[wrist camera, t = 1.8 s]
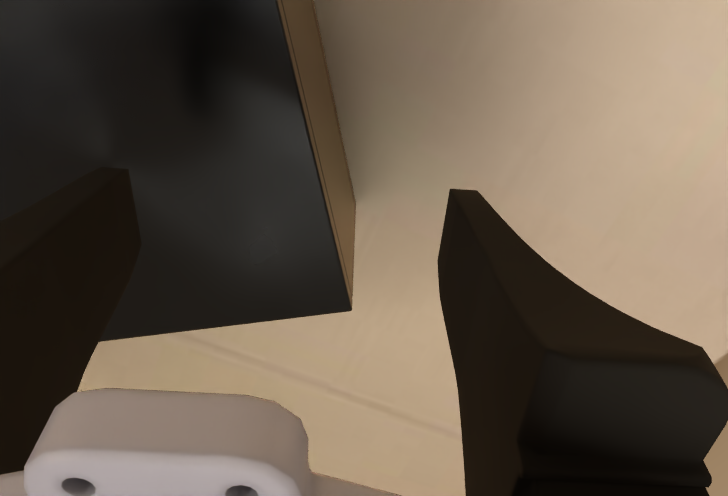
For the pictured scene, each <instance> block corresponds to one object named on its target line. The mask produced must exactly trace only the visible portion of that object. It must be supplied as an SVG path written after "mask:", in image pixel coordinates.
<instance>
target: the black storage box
mask: <svg viewBox="0 0 728 496" xmlns="http://www.w3.org/2000/svg"><path fill="white" fill-rule="evenodd" d="M100 167H106V168H122V169H128V170H129V175H130V181H131V186H132V192H133V198H134V203H135V209H136V215H137V220H138V226H139V231H140V237H141V243H142V244H141V248H140V251H139V254H138V258H137V261H136V264H135V267H134V270H133V273H132V276H131V279H130V281H129V283H128V285H127V287H126V289H125V291H124V293H123V295H122V297H121V299H120V301H119V303H118V305H117V307H116V309H115V311H114V313H113V315H112V317H111V319H110V321H109V323H108V325H107V327H106V328H105V330H104V332H103V334H102V336H101V338H100V340H99V342H100V341H109V340H117V339H125V338H133V337H141V336H150V335H158V334H166V333H174V332H182V331H191V330H199V329H207V328H215V327H223V326H232V325H240V324H248V323H256V322H265V321H273V320H281V319H289V318H297V317H306V316H314V315H322V314H330V313H338V312H347V311H351V310H352V296H353V269H354V242H355V215H356V211H355V210H356V202H355V197H354V192H353V187H352V182H351V178H350V173H349V168H348V163H347V159H346V154H345V149H344V144H343V139H342V135H341V130H340V125H339V120H338V115H337V111H336V106H335V101H334V96H333V92H332V87H331V82H330V77H329V72H328V68H327V63H326V58H325V53H324V49H323V44H322V39H321V34H320V29H319V25H318V20H317V15H316V10H315V5H314V1H313V0H0V221H2V220H4V219H6V218H8V217H10V216H12V215H13V214H15V213H17V212H19V211H21V210H23V209H25V208H27V207H29V206H31V205H33V204H34V203H36V202H38V201H40V200H41V199H43V198H45V197H47V196H49V195H50V194H52V193H54V192H56V191H57V190H59V189H61V188H63V187H64V186H66V185H68V184H69V183H71V182H73V181H75V180H76V179H78V178H80V177H82V176H84V175H86V174H87V173H89V172H91V171H93V170H96V169H98V168H100Z"/></svg>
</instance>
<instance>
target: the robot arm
mask: <svg viewBox="0 0 728 496" xmlns="http://www.w3.org/2000/svg"><path fill="white" fill-rule="evenodd" d="M141 244H142V243H141V237H140V231H139V226H138V220H137V215H136V209H135V203H134V198H133V192H132V186H131V181H130V175H129V170H128V169H122V168H106V167H100V168H98V169H96V170H93V171H91V172H89V173H87V174H86V175H84V176H82V177H80V178H78V179H76V180H75V181H73V182H71V183H69V184H68V185H66V186H64V187H63V188H61V189H59V190H57V191H56V192H54V193H52V194H50V195H49V196H47V197H45V198H43V199H41V200H40V201H38V202H36V203H34V204H33V205H31V206H29V207H27V208H25V209H23V210H21V211H19V212H17V213H15V214H13V215H12V216H10V217H8V218H6V219H4V220H2V221H0V496H401V495H397V494H394V493H390V492H386V491H382V490H379V489H375V488H371V487H367V486H364V485H360V484H356V483H352V482H349V481H345V480H341V479H337V478H334V477H330V476H326V475H322V474H318V473H315V472H312V471H311V470H310V468H309V463H308V437H307V434H306V432H305V429H304V427H303V424H302V422H301V419H300V418H298V417H297V416H295V415H294V414H292V413H291V412H290V411H288V410H287V409H285V408H284V407H282V406H281V405H280V404H278V403H277V402H275V401H271V400H266V399H262V398H257V397H253V396H249V395H236V394H216V393H196V392H177V391H157V390H137V389H118V388H104V389H96V390H89V391H81V392H77V390H78V387H79V385H80V382H81V379H82V376H83V374H84V371H85V369H86V367H87V365H88V362H89V360H90V358H91V356H92V354H93V352H94V350H95V348H96V346H97V344H98V342H99V340H100V338H101V336H102V334H103V332H104V330H105V328H106V327H107V325H108V323H109V321H110V319H111V317H112V315H113V313H114V311H115V309H116V307H117V305H118V303H119V301H120V299H121V297H122V295H123V293H124V291H125V289H126V287H127V285H128V283H129V281H130V279H131V276H132V273H133V270H134V267H135V264H136V261H137V258H138V254H139V251H140V248H141ZM438 277H439V292H440V300H441V306H442V311H443V316H444V321H445V326H446V330H447V335H448V340H449V345H450V350H451V355H452V359H453V364H454V369H455V374H456V380H457V387H458V395H459V406H460V418H461V429H462V443H463V457H464V471H465V489H466V496H709V494H708V492H707V490H706V488H705V487H709V486H710V484H711V483H712V478H711V475H710V473H709V471H708V469H707V467H706V465H705V463H704V461H703V459H704V458H705V456H706V455H707V453H708V452H709V450H710V449H711V447H712V445H713V444H714V442H715V441H716V439H717V438H718V436H719V435H720V433H721V431H722V430H723V428H724V427H725V425H726V423H727V421H728V389H727V386H726V385H725V383H724V381H723V379H722V378H721V376H720V374H719V373H718V371H717V369H716V368H715V366H714V364H713V363H712V361H711V360H710V358H709V356H708V355H707V353H706V352H705V351H704V349H703V348H702V347H700V346H698V345H695V344H693V343H690V342H688V341H685V340H683V339H680V338H678V337H675V336H673V335H670V334H668V333H665V332H663V331H660V330H658V329H656V328H653V327H651V326H649V325H647V324H645V323H643V322H641V321H639V320H637V319H635V318H633V317H631V316H629V315H627V314H625V313H623V312H621V311H619V310H617V309H616V308H614V307H612V306H610V305H608V304H607V303H605V302H603V301H602V300H600V299H598V298H597V297H595V296H594V295H592V294H590V293H589V292H587V291H586V290H584V289H583V288H581V287H580V286H578V285H577V284H575V283H574V282H572V281H571V280H570V279H568V278H567V277H566V276H564V275H563V274H562V273H560V272H559V271H558V270H556V269H555V268H554V267H552V266H551V265H550V264H549V263H548V262H546V261H545V260H544V259H543V258H542V257H541V256H540V255H538V254H537V253H536V252H535V251H534V250H533V249H532V248H531V247H530V246H529V245H527V244H526V243H525V242H524V241H523V240H522V239H521V238H520V237H519V236H518V235H517V234H516V233H515V232H514V231H513V230H512V229H511V227H510V226H509V225H508V224H507V223H506V222H505V221H504V220H503V219H502V218H501V217H500V216H499V215H498V213H497V212H496V211H495V210H494V209H493V208H492V207H491V206H490V204H489V203H488V202H487V201H486V200H485V199H484V198H483V197H482V195H481V194H480V193H479V192H478V191H476V190H460V189H450V192H449V198H448V204H447V209H446V215H445V221H444V227H443V233H442V239H441V245H440V250H439V256H438Z"/></svg>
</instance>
